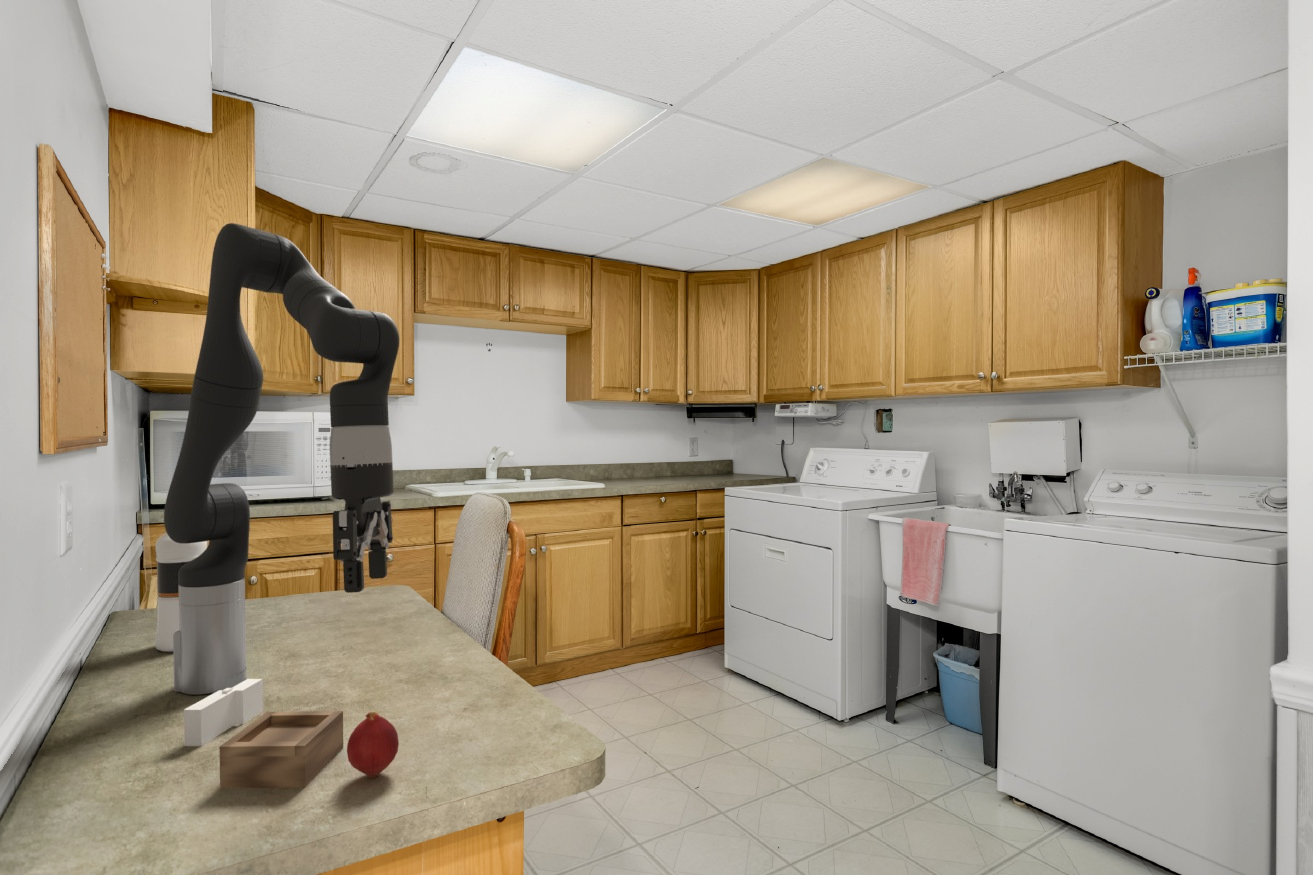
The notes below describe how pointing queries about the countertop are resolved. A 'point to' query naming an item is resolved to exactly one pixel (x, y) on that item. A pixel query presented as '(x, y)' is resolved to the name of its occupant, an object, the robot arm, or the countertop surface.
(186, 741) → the white notched block
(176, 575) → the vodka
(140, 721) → the countertop surface
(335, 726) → the wooden box
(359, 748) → the onion
